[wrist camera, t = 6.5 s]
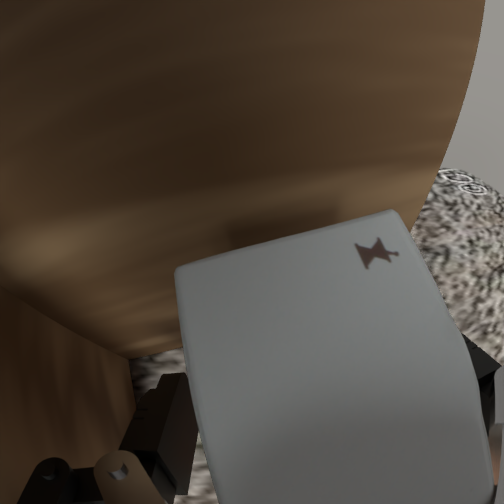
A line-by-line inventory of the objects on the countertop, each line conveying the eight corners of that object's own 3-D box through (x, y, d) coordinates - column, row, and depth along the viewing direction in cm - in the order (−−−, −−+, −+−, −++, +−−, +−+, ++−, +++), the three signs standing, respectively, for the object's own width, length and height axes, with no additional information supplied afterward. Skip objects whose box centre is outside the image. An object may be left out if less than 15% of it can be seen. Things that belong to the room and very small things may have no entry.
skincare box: (251, 370, 15) (166, 253, 5) (328, 349, 15) (399, 196, 5) (277, 474, 12) (244, 605, 2) (358, 451, 12) (508, 502, 2)
